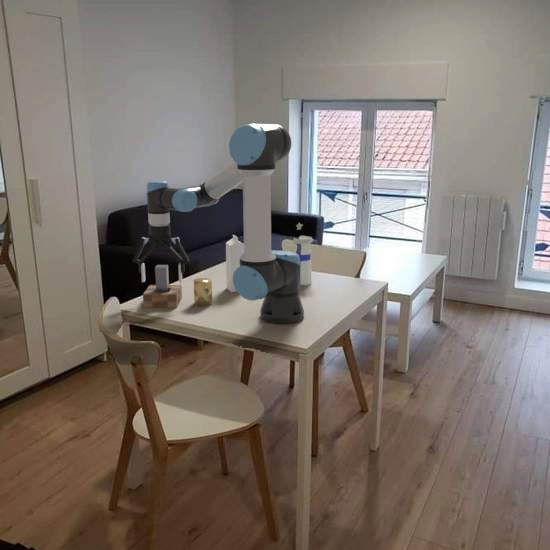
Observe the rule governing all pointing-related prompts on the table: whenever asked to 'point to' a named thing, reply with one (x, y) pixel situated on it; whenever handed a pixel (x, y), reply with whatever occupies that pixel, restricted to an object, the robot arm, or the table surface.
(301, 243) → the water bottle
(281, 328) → the table surface
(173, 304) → the socket block
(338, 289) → the table surface
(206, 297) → the round bit
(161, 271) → the square bit
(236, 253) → the milk
